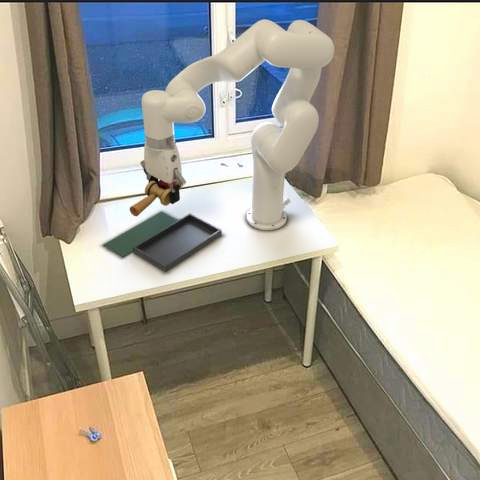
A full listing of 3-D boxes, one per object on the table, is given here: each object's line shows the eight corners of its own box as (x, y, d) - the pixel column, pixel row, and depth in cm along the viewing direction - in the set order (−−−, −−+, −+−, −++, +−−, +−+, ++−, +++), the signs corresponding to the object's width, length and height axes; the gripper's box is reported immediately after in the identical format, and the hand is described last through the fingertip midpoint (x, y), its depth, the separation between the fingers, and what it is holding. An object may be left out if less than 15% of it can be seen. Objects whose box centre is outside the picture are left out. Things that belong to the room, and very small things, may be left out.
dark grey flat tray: (190, 218, 187) (189, 213, 185) (221, 235, 181) (221, 229, 180) (133, 252, 172) (132, 247, 171) (165, 272, 167) (165, 266, 165)
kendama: (149, 225, 158) (187, 193, 170) (143, 205, 154) (183, 173, 166) (126, 220, 161) (166, 189, 173) (120, 200, 157) (161, 169, 170)
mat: (161, 212, 189) (161, 211, 188) (180, 222, 185) (180, 222, 185) (103, 245, 174) (103, 244, 174) (123, 257, 171) (122, 256, 170)
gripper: (194, 145, 155) (196, 202, 166) (147, 124, 162) (152, 180, 174) (173, 155, 150) (177, 214, 161) (126, 133, 158) (133, 190, 169)
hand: (164, 196), depth 167 cm, fingers closed on kendama, 7 cm apart
